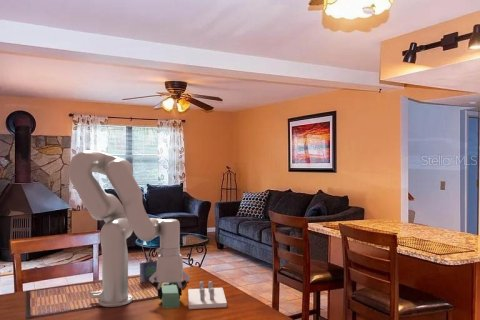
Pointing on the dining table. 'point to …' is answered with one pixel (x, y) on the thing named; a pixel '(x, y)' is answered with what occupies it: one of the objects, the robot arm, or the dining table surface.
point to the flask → (147, 270)
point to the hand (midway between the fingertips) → (169, 297)
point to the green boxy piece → (170, 296)
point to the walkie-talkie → (175, 283)
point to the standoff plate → (206, 297)
